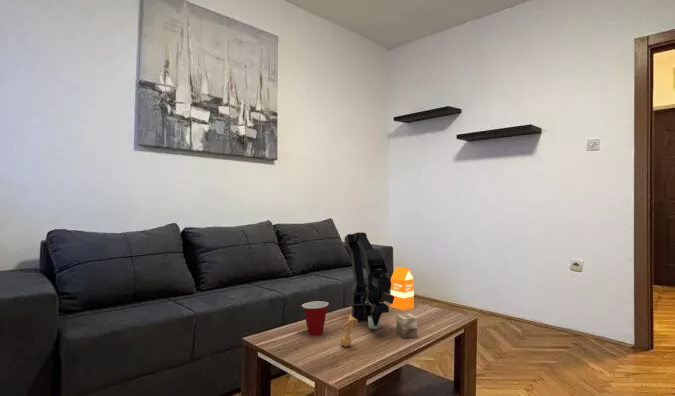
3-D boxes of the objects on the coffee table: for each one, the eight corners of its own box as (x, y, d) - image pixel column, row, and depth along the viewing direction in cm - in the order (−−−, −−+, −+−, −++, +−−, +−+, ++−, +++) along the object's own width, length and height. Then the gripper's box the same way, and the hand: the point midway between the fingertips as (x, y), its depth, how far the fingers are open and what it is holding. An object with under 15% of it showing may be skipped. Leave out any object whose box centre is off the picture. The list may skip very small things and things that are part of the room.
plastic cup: (311, 326, 162) (311, 298, 162) (333, 331, 157) (333, 302, 157) (296, 334, 153) (296, 304, 153) (318, 339, 147) (318, 308, 147)
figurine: (349, 341, 146) (350, 310, 146) (361, 346, 141) (361, 313, 141) (334, 347, 140) (334, 314, 140) (345, 352, 135) (346, 318, 135)
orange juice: (403, 310, 187) (404, 269, 187) (390, 306, 194) (390, 267, 194) (414, 307, 192) (414, 267, 192) (400, 303, 199) (400, 265, 199)
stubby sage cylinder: (370, 328, 155) (370, 319, 155) (366, 325, 159) (366, 315, 159) (381, 328, 156) (381, 318, 156) (377, 324, 160) (377, 314, 161)
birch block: (403, 329, 149) (403, 319, 149) (396, 324, 155) (396, 314, 155) (417, 328, 151) (417, 317, 151) (409, 323, 156) (410, 313, 156)
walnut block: (402, 339, 149) (403, 329, 149) (396, 334, 155) (396, 324, 155) (416, 338, 151) (417, 328, 151) (410, 333, 156) (410, 323, 156)
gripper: (401, 290, 151) (401, 330, 151) (384, 280, 169) (383, 316, 169) (374, 291, 148) (374, 332, 148) (360, 281, 166) (359, 317, 166)
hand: (373, 324), depth 158 cm, fingers closed on stubby sage cylinder, 5 cm apart
